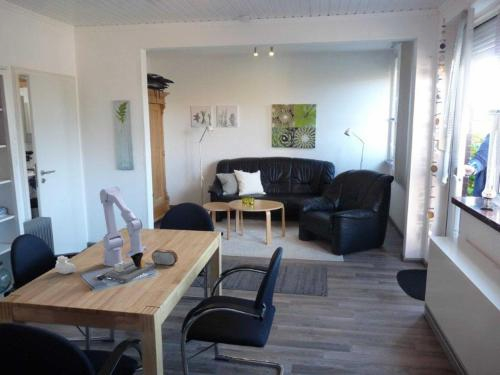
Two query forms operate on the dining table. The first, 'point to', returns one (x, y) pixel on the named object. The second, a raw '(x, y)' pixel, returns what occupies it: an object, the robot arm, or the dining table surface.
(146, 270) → the fader board
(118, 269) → the pale fader
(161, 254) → the tin
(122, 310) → the dining table surface
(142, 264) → the block
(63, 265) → the white irregular lump
